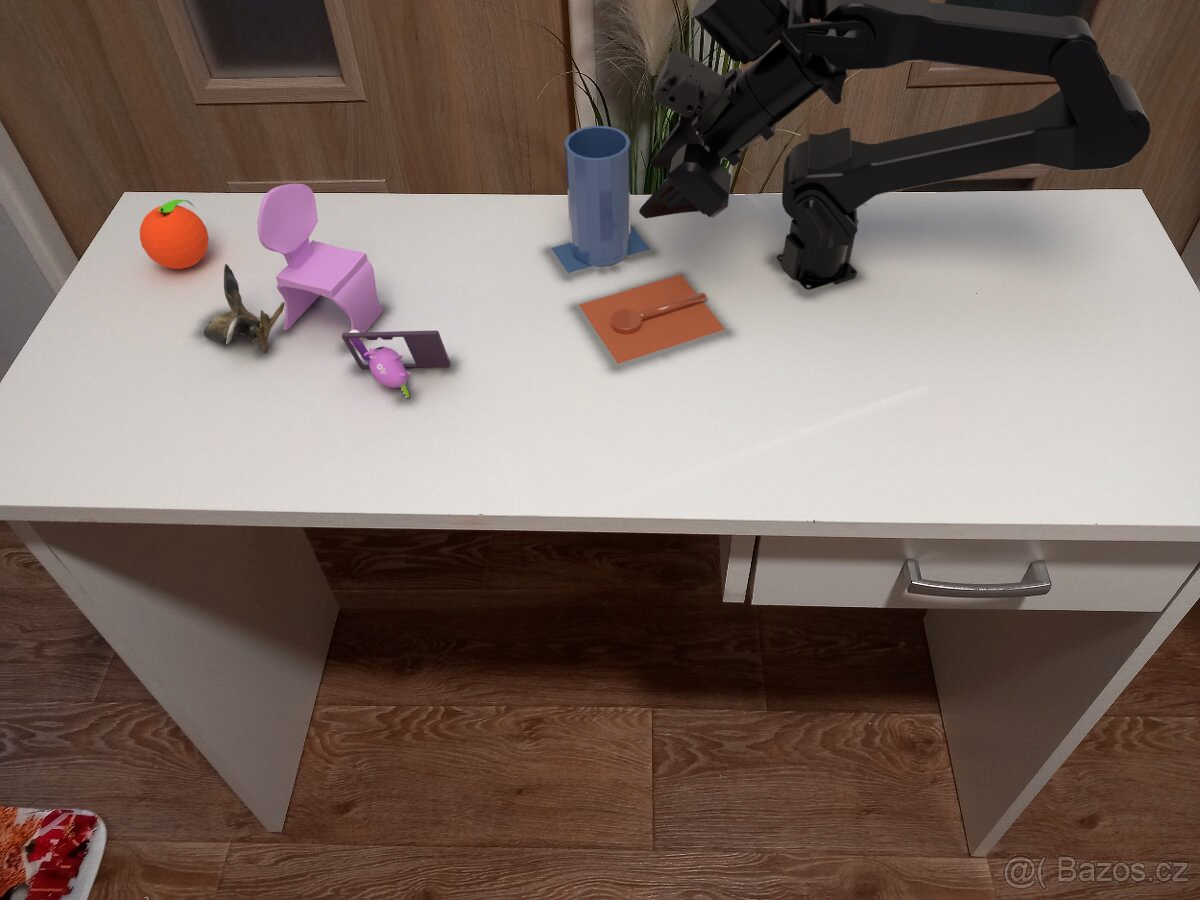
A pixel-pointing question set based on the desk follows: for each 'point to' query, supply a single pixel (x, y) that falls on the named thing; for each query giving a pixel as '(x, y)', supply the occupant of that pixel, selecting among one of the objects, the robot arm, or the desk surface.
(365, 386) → the desk surface
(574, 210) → the blue tumbler
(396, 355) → the pink creature with frame
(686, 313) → the terracotta mat
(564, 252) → the blue mat
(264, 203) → the toy chair
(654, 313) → the terracotta spoon
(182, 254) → the clementine
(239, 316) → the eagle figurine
